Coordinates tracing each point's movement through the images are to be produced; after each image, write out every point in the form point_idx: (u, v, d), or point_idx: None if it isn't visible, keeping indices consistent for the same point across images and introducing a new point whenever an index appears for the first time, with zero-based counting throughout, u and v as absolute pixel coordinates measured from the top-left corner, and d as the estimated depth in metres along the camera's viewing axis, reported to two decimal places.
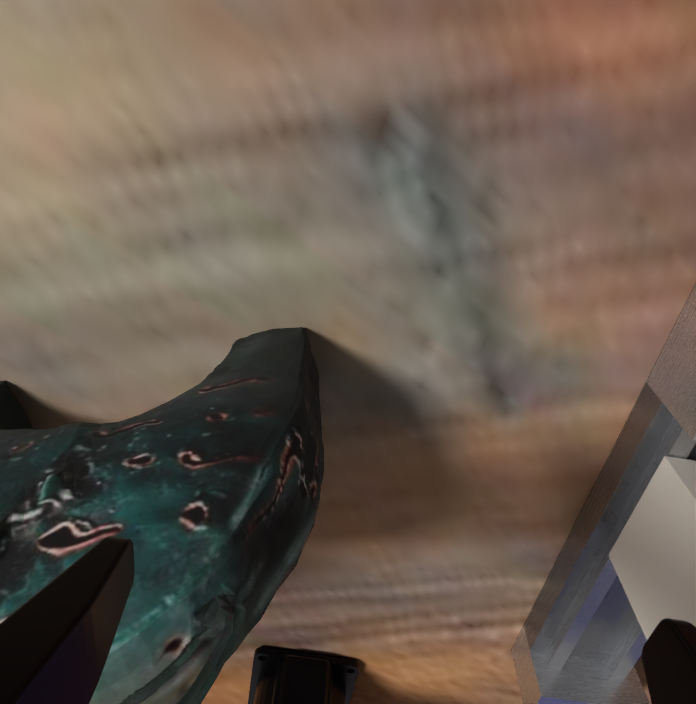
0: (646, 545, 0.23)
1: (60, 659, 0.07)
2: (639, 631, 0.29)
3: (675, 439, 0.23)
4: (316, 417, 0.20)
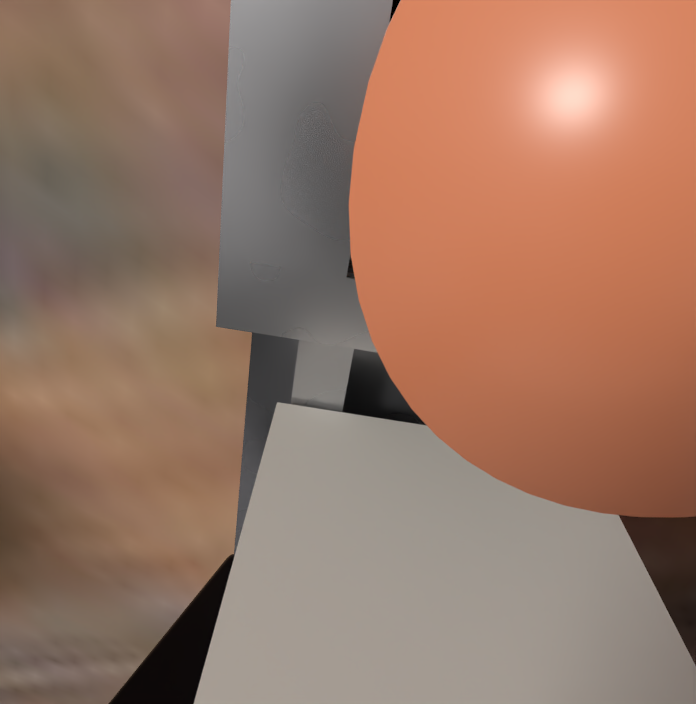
0: None
1: None
2: None
3: (298, 355, 0.08)
4: None
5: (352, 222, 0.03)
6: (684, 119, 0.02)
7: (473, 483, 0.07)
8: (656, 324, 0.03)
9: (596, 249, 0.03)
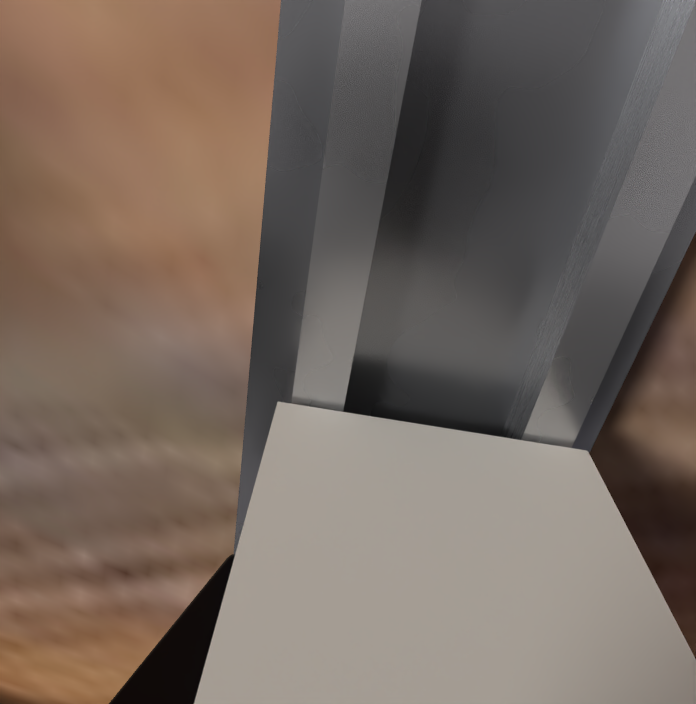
0: None
1: None
2: None
3: None
4: None
5: None
6: None
7: (475, 482, 0.07)
8: None
9: None
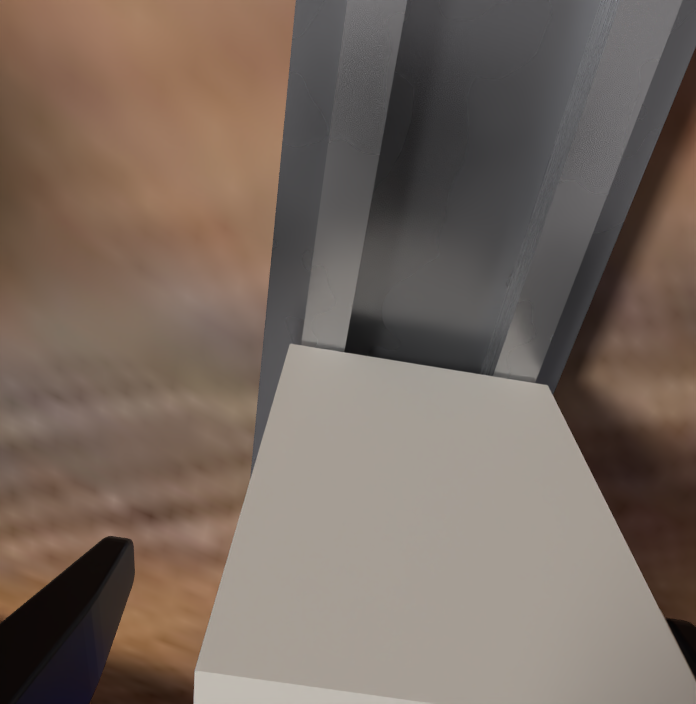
0: None
1: (60, 658, 0.07)
2: None
3: None
4: None
5: None
6: None
7: (451, 404, 0.09)
8: None
9: None
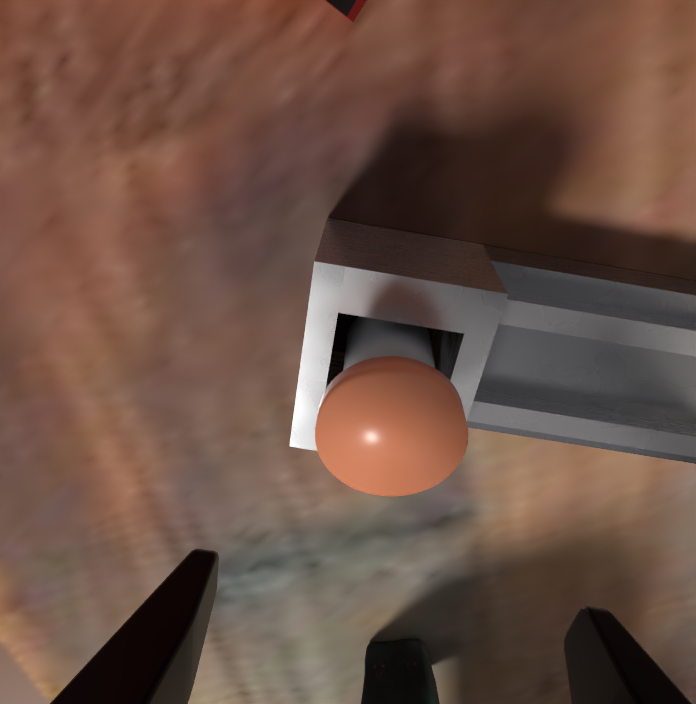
0: None
1: (170, 674, 0.07)
2: None
3: (487, 421, 0.18)
4: None
5: None
6: (373, 452, 0.13)
7: None
8: (412, 449, 0.13)
9: (395, 461, 0.13)
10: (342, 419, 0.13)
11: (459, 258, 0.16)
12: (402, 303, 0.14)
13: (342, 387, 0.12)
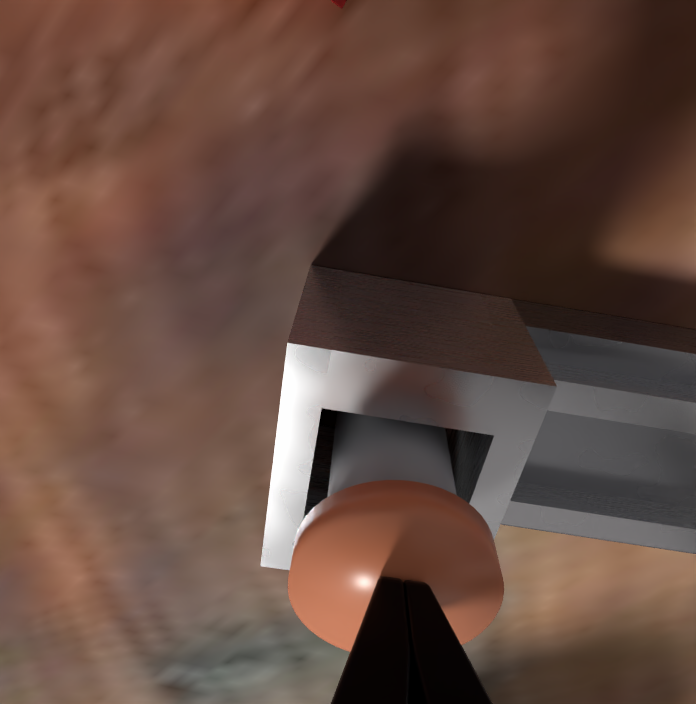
0: None
1: None
2: None
3: (516, 522, 0.14)
4: None
5: None
6: None
7: None
8: None
9: None
10: (326, 570, 0.09)
11: (484, 324, 0.12)
12: (410, 397, 0.10)
13: (325, 531, 0.09)
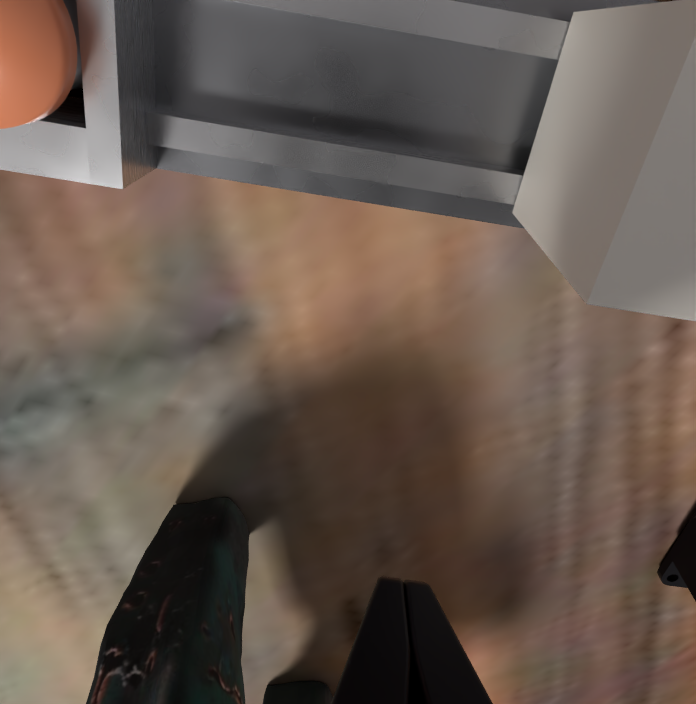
0: None
1: None
2: None
3: (194, 150, 0.15)
4: (173, 575, 0.20)
5: None
6: None
7: (559, 106, 0.13)
8: None
9: None
10: None
11: None
12: None
13: None
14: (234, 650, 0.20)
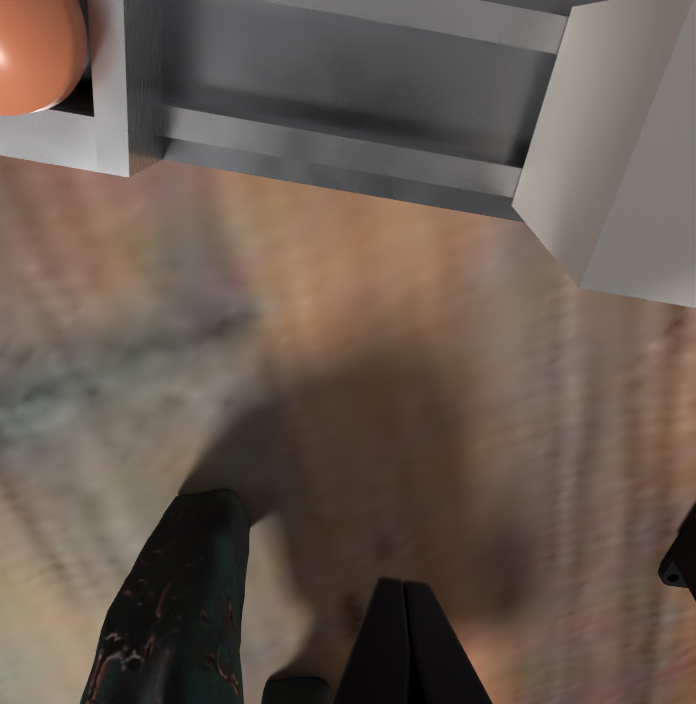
0: None
1: None
2: None
3: (199, 141, 0.15)
4: (173, 564, 0.20)
5: (8, 115, 0.12)
6: None
7: (557, 99, 0.13)
8: (11, 38, 0.12)
9: None
10: None
11: None
12: None
13: None
14: (233, 639, 0.20)
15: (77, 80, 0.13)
